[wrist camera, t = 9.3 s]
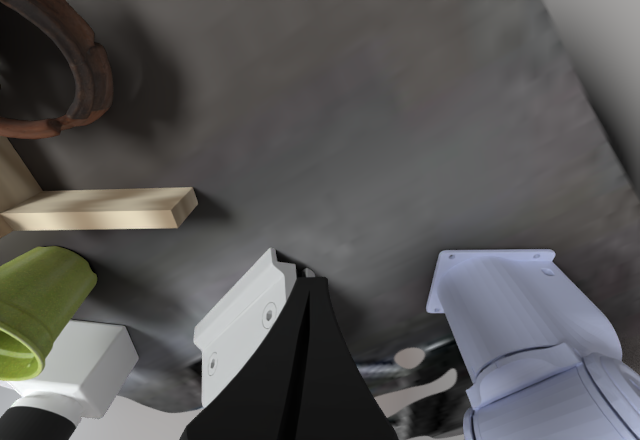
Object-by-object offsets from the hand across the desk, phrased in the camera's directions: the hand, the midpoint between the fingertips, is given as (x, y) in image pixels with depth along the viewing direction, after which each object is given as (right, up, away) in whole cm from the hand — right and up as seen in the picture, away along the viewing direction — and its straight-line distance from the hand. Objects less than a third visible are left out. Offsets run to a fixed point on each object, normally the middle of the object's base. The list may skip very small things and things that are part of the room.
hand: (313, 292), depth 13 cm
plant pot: (-25, -1, +15) cm, 29 cm away
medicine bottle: (-26, -11, +22) cm, 36 cm away
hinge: (-6, -6, +17) cm, 19 cm away
